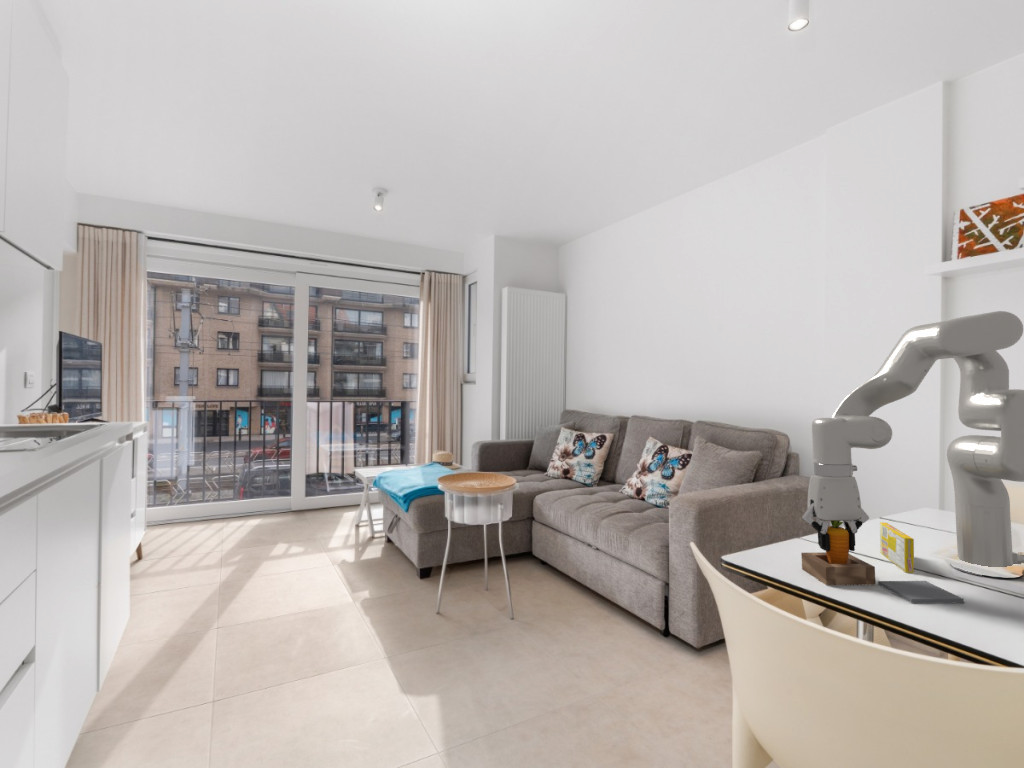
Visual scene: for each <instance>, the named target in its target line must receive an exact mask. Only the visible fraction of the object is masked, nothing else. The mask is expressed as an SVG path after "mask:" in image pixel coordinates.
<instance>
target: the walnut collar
mask: <svg viewBox="0 0 1024 768" xmlns="http://www.w3.org/2000/svg"><path fill="white" fill-rule="evenodd" d="M800 556H801V569H802V570H803V572H805V573H807V574H809V575H810V576H812V577H813V578H814V579H816V580H818V581H820V582H821V583H823V584H824V585H825V586H876V585H877V584H876V583H877V582H876V567H875V566H874V565H872V564H870V563H868V562H866V561H864V560H862V559H860V558H858V557H857V556H854V555H852V554H851V553H849V555H848V561H847V564H829V561H828V558H827V554H826V551H824V552H801V555H800Z"/></svg>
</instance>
